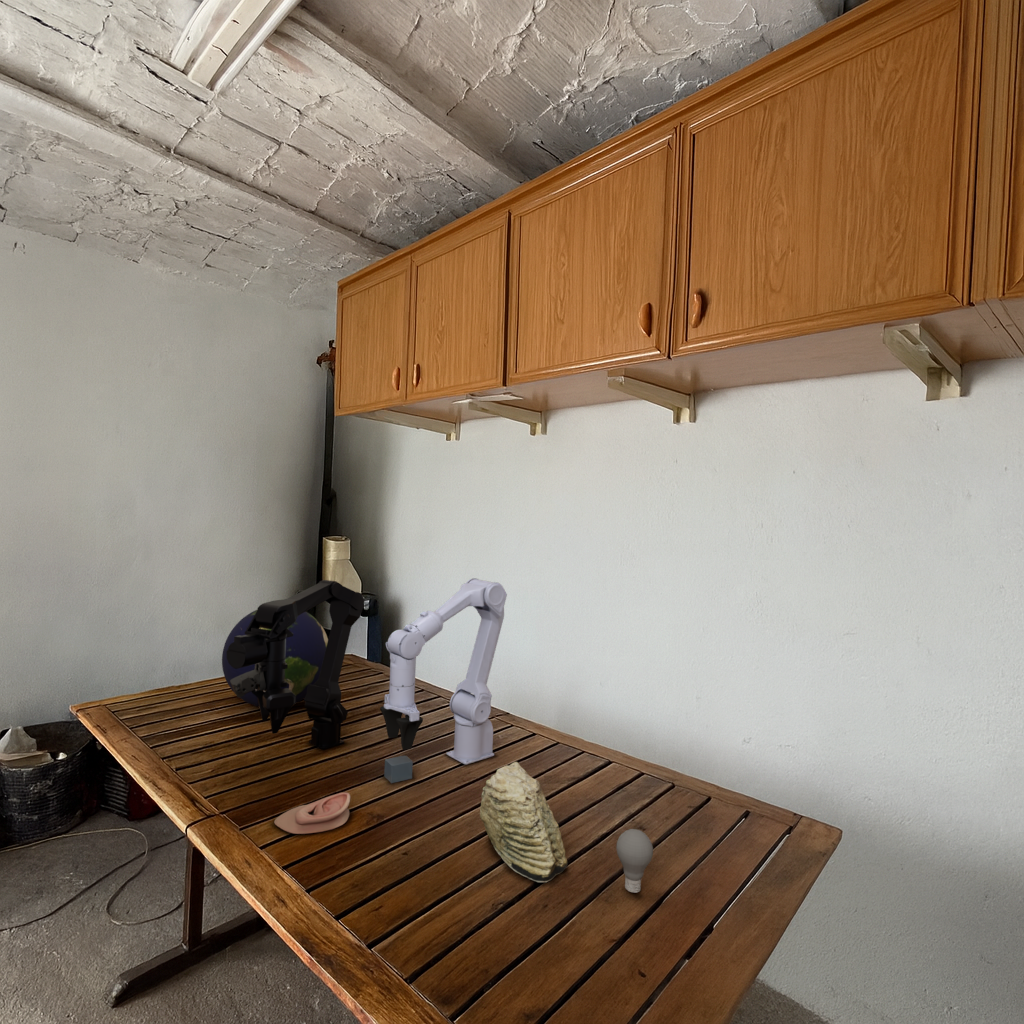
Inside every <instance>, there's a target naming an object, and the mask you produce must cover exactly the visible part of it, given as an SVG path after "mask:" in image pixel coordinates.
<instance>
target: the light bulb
mask: <svg viewBox="0 0 1024 1024" xmlns="http://www.w3.org/2000/svg"><path fill="white" fill-rule="evenodd" d="M615 849H616V854H617V857H618V859H619V861H620V863H621V865H622V867H623V873H624V874H623V875H624V876H625V878H624V888H625V890H627V891H628V892H630V893H634V894H635V893H639V892H640V891H641V889H642V887H641V886H642V879H643V877H644V875H645V871H646V868H647V867H648V866H649V864H650V863H651V861H652V859H653V855H654V847H653V843H652V841H651V838H649V836H648V835H647V834H646V833H645V832H643V831H642V830H641V829H636V828H629V829H627V830H625V831H623V832H622V833H621V834H620V835H619V837H618V839H617V841H616V847H615Z"/></svg>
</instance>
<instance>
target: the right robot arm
mask: <svg viewBox="0 0 1024 1024" xmlns="http://www.w3.org/2000/svg"><path fill="white" fill-rule="evenodd" d="M507 597H508V593H507V592H506V590H505V588H504V586H503V585H502V584H501V583H500V582H496V581H489V580H483V579H479V578H477V577H472V578H469V579H468V580H467V581H466V582H464V583H463V584H461V585H460V588H459V590H458V591H456V592H455V593H454V594H453V595H452V596H451V597H450V598H448V599H447V600H446V601H445V602H444V603H443V604H441V605H440V606H439V607H438V608H437V609H436V610H426V611H425V610H424V611H421V612H420V613H419V615H420V616H418V617H417V618H416V619H415V620H412V621H411V622H410V623H407V624H405V626H404V627H403V629H396V630H394V631H393V632H391V634H390V635H389V636H388V639H387V641H386V642H385V647H386V650H387V651H388V653H389V660H390V662H389V663H390V664H389V687H388V689H389V690H388V693H386V694H384V704H383V706H380V707H379V708H380V709H379V710H380V712H381V714H382V716H383V720H384V723H385V727H386V733H387V738H388V739H393V738H398V736H399V734H400V745H401V749H402V751H407V750H410V749H412V748H413V745H414V743H415V738H416V735H417V733H418V730H419V729H420V726H421V725H422V723H423V721H424V718H423V717H422V716H420V713H421V712H420V711H419V710H418V708H417V704H416V701H415V694H416V670H417V669H416V668H417V657H418V656H419V655H420V653H422V649H423V647H424V646H425V644H426V643H427V642H429V641H430V640H431V639H433V638H434V637H435V636H437V635H438V634H439V633H441V632H442V631H443V627H444V623H445V622H447V621H448V620H450V619H452V618H454V616H456V615H457V614H459V613H460V612H462V611H464V610H465V609H466V608H468V607H473V608H474V609H475V610H476V611H477V613H478V615H479V616H480V622H479V627H478V630H477V634H476V638H475V641H474V645H473V649H472V653H471V656H470V660H469V664H468V667H467V671H466V675H465V679H463V680H462V681H460V682H458V684H457V685H456V688H455V691H454V693H452V695H451V698H450V700H449V710H450V712H451V713H452V714H453V719H454V737H453V738H454V741H453V750H450V751H446V756H448V757H450V758H452V759H454V760H456V761H457V762H459V763H461V764H463V765H470V764H472V763H476V762H479V761H482V760H485V759H488V758H492V757H494V756H495V753H494V752H493V747H494V726H493V722H492V721H491V720H490V718H489V717H490V716H491V712H492V704H491V703H492V702H491V701H492V697H493V695H492V693H491V691H490V689H489V687H488V681H489V678H490V677H489V676H490V673H491V668H492V665H493V661H494V657H495V653H496V649H497V645H498V642H499V638H500V634H501V631H502V626H503V624H504V623H503V622H504V619H505V605H506V600H507ZM403 715H404V717H402V716H403Z"/></svg>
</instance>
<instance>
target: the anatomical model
mask: <svg viewBox="0 0 1024 1024" xmlns="http://www.w3.org/2000/svg"><path fill="white" fill-rule="evenodd" d="M350 803H351V794H350V792H347V791H346V792H339V793H336V794H332V795H329V796H326V797H323V798H321V799H318V800H316V801H313V802H311V803H308V804H303V805H299V806H295V807H293V808H291V809H289V810H287V811H285V812H283V813H282V814H280V815H279V816H277V817H276V818H275V819H274V825H275V826H276V827H278V828H280V829H281V830H283V831H285V832H287V833H289V834H293V835H300V834H301V835H305V834H313V833H322V832H326V831H331V830H334V829H336V828H339V827H341V826H343V825H344V824H345V823H347V821H348V820H349V817H350V809H349V808H348V807H349V806H350Z"/></svg>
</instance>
